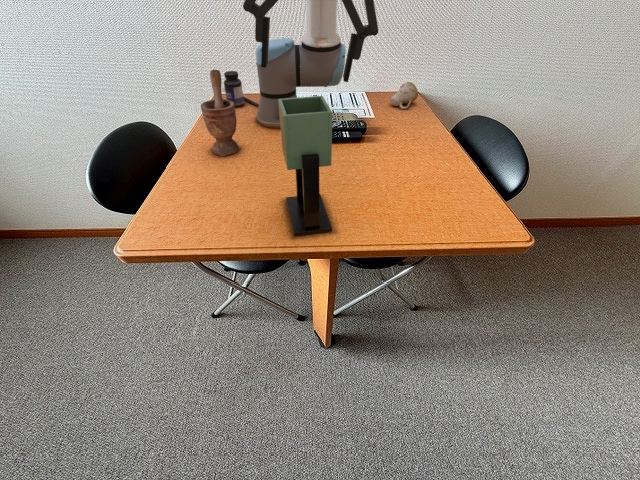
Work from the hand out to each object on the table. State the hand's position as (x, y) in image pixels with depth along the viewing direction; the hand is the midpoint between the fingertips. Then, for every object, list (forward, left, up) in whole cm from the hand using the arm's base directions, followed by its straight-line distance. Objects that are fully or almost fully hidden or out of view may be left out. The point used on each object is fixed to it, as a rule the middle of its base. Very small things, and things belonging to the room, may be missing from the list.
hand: (305, 72), depth 57 cm
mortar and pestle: (-40, +4, -29) cm, 50 cm away
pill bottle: (-67, +26, -29) cm, 78 cm away
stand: (+1, -1, -29) cm, 29 cm away
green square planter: (+1, -1, -15) cm, 15 cm away
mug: (-24, +70, -29) cm, 80 cm away
